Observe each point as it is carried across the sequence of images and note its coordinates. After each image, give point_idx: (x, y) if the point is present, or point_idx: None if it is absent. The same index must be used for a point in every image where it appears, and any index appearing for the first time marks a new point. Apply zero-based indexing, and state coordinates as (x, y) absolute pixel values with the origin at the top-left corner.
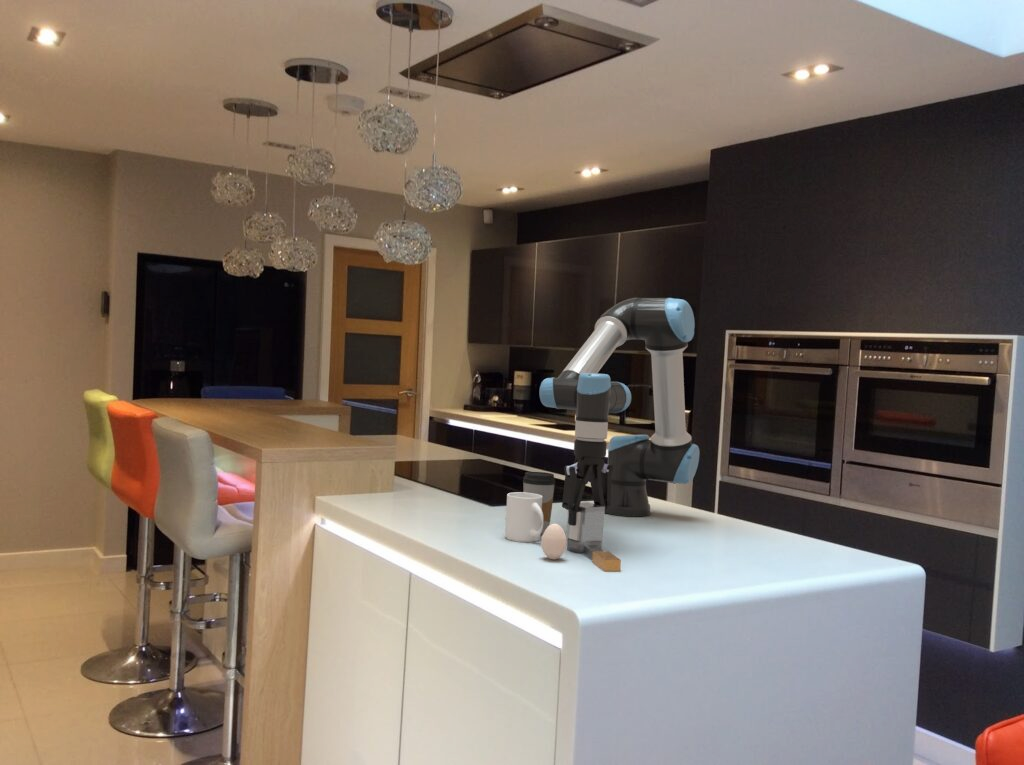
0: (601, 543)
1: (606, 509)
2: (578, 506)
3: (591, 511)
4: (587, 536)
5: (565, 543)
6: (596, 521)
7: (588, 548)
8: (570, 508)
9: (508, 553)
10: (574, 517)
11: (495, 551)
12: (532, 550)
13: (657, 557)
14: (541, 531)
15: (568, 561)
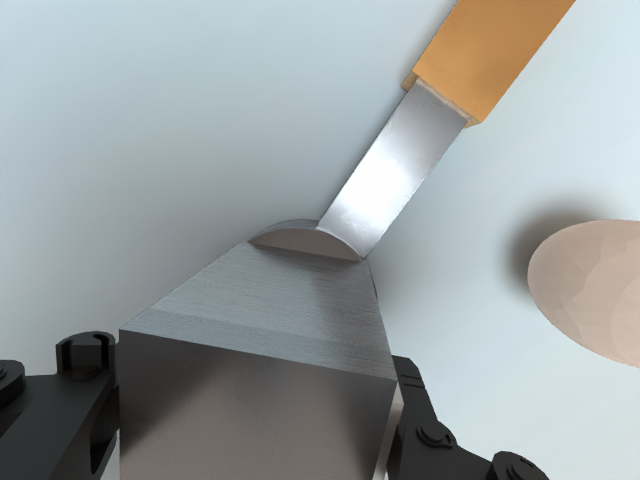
0: (256, 236)
1: (88, 332)
2: (412, 457)
3: (315, 340)
4: (344, 268)
5: (615, 225)
6: (268, 287)
7: (406, 202)
8: (522, 464)
9: (602, 413)
10: (408, 394)
11: (610, 455)
12: (482, 393)
13: (113, 7)
14: (385, 476)
15: (534, 199)
